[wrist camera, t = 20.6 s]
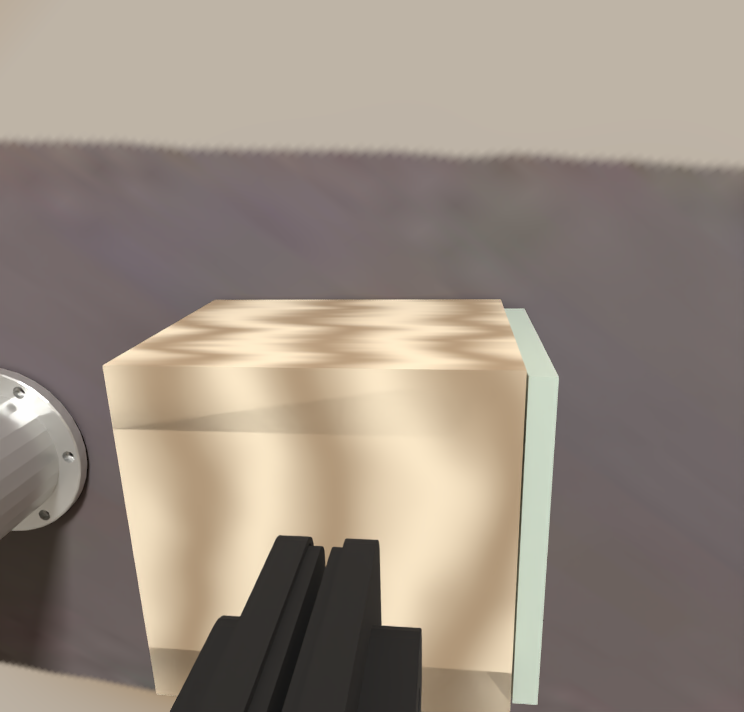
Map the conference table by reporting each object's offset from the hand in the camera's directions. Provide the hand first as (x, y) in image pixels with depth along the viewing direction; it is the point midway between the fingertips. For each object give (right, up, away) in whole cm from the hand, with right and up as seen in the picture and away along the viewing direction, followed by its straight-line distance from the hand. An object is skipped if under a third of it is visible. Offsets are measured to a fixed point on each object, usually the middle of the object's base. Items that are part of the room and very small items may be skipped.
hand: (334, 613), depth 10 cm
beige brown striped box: (0, -1, +31) cm, 31 cm away
